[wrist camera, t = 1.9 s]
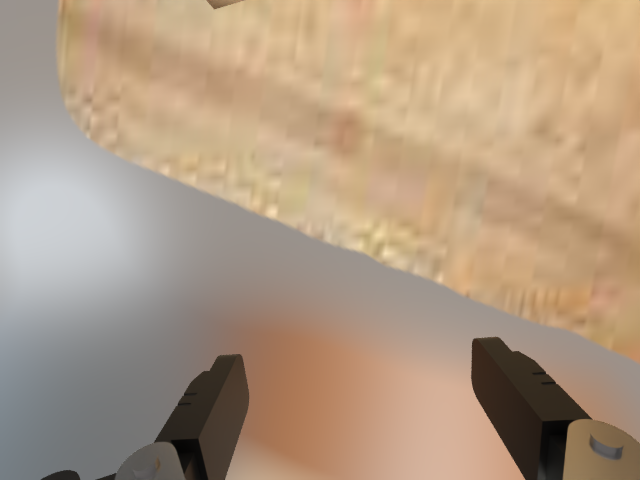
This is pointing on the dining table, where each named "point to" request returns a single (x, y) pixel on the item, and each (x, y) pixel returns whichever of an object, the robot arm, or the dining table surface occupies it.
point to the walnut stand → (221, 3)
